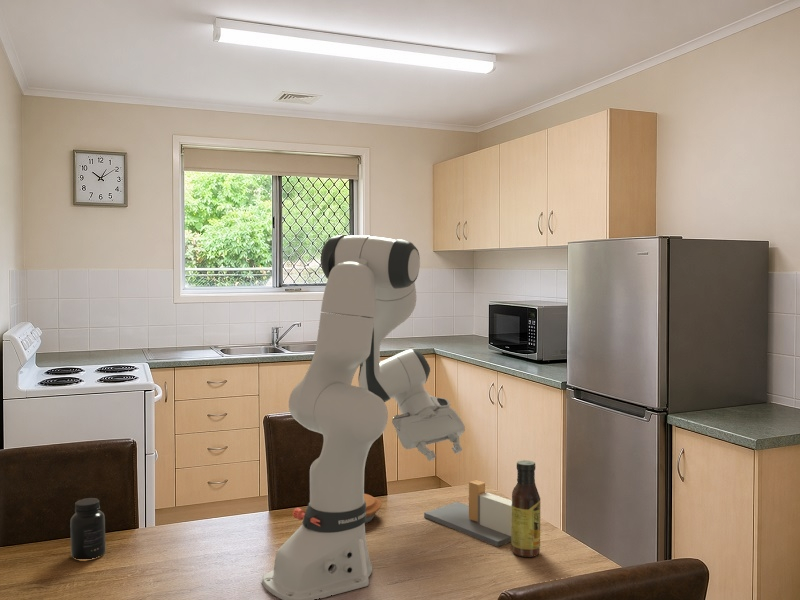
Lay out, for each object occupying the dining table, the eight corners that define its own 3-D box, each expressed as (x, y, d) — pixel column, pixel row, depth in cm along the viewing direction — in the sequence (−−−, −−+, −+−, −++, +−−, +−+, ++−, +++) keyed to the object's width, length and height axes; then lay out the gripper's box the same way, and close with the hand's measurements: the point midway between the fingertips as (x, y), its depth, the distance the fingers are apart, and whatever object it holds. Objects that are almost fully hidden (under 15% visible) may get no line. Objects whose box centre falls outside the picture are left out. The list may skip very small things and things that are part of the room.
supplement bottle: (66, 555, 149) (64, 501, 148) (97, 546, 154) (96, 493, 153) (79, 565, 144) (77, 509, 143) (111, 555, 149) (109, 501, 148)
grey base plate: (498, 546, 153) (498, 510, 153) (424, 517, 171) (424, 484, 171) (531, 532, 161) (531, 498, 161) (457, 506, 179) (457, 475, 179)
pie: (306, 519, 170) (305, 500, 170) (350, 503, 182) (350, 484, 181) (350, 535, 160) (350, 514, 160) (394, 517, 172) (394, 497, 171)
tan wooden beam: (478, 522, 164) (478, 485, 163) (468, 518, 166) (468, 482, 166) (484, 519, 165) (485, 482, 165) (475, 516, 168) (475, 479, 167)
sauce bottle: (540, 559, 146) (540, 468, 145) (510, 557, 148) (511, 466, 147) (540, 547, 153) (540, 459, 152) (511, 545, 154) (512, 457, 153)
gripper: (395, 409, 171) (422, 456, 164) (452, 398, 185) (479, 441, 178) (383, 423, 175) (409, 470, 168) (440, 412, 188) (466, 454, 181)
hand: (446, 455), depth 173 cm, fingers open, 8 cm apart
